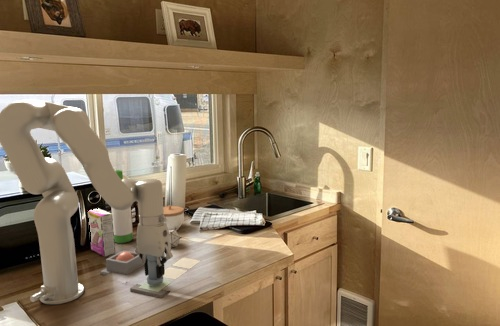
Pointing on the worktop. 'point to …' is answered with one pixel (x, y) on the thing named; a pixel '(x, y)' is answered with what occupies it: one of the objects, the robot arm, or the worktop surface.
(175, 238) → the game die
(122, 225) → the wine bottle
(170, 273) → the track board
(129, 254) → the dome button
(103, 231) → the candy bar box
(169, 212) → the lidded bowl
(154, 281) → the pawn
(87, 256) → the worktop surface
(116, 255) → the button housing
